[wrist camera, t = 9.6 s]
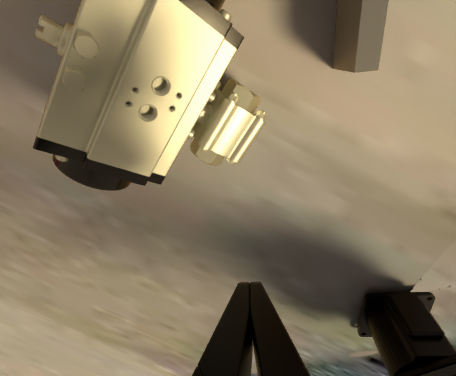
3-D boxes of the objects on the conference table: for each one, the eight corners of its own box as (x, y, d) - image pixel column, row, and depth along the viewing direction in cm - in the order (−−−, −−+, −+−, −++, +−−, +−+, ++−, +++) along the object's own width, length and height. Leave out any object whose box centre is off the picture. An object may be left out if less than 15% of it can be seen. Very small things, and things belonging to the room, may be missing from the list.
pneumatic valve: (192, 181, 22) (13, 124, 14) (274, 47, 18) (86, -124, 11) (216, 225, 18) (-14, 178, 10) (328, 67, 14) (87, -187, 7)
